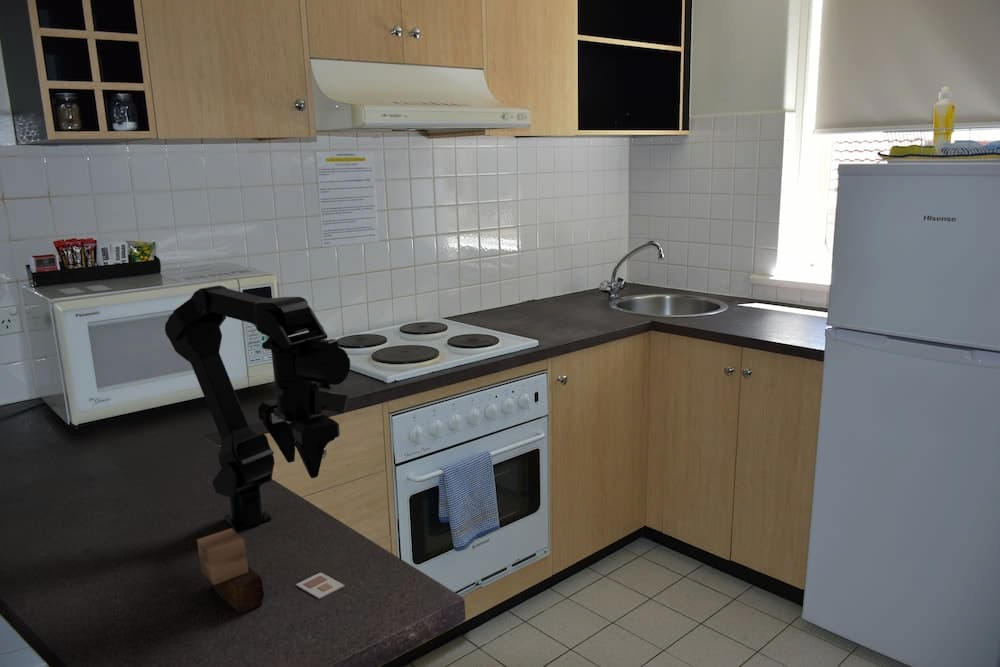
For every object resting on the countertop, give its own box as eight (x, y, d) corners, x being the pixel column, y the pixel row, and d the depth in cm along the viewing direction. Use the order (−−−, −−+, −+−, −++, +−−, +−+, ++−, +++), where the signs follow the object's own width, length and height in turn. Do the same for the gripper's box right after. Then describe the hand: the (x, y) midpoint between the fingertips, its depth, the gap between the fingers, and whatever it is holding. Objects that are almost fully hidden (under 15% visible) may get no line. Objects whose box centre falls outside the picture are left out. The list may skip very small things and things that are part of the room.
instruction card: (295, 585, 114) (295, 583, 114) (320, 573, 117) (320, 571, 117) (319, 599, 110) (319, 597, 110) (344, 586, 113) (344, 584, 113)
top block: (201, 571, 110) (196, 539, 109) (236, 559, 113) (231, 528, 112) (213, 585, 106) (208, 552, 105) (248, 572, 109) (244, 539, 108)
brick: (266, 605, 109) (262, 575, 108) (239, 616, 106) (235, 586, 106) (235, 578, 117) (232, 550, 116) (209, 588, 114) (206, 559, 113)
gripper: (366, 378, 120) (373, 472, 123) (315, 358, 134) (323, 443, 137) (298, 392, 113) (308, 491, 116) (252, 370, 127) (262, 459, 131)
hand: (302, 469), depth 125 cm, fingers open, 9 cm apart
